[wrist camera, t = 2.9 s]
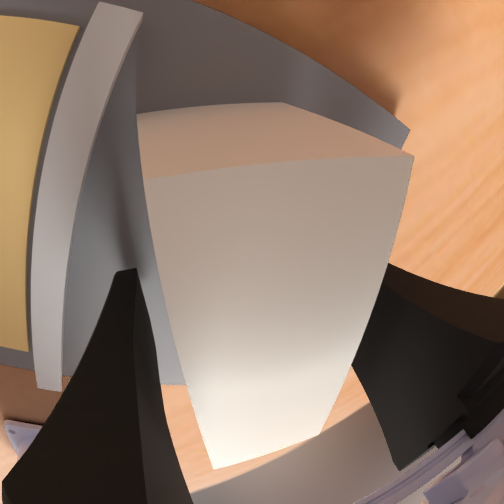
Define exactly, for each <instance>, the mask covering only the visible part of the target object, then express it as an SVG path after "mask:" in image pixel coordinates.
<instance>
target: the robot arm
mask: <svg viewBox="0 0 504 504" xmlns="http://www.w3.org/2000/svg"><path fill="white" fill-rule="evenodd" d="M351 365H352V367H353V369H354V371H355V373H356V375H357V377H358V378H359V380H360V382H361V384H362V386H363V388H364V390H365V392H366V394H367V396H368V398H369V400H370V402H371V405H372V406H373V409H374V411H375V414H376V416H377V418H378V421H379V423H380V425H381V427H382V430H383V433H384V436H385V438H386V441H387V444H388V447H389V450H390V453H391V456H392V460H393V462H394V464H395V465H396V467H397V468H398V470H399V471H401V470H402V469H404V468H405V467H407V466H408V465H410V464H411V463H413V462H414V461H416V460H417V459H419V458H420V457H422V456H423V455H424V454H426V453H427V452H429V451H430V450H431V449H433V448H434V447H435V446H436V447H437V448H438V450H437V451H435V452H434V453H433V454H431V455H430V456H429V457H427V458H426V459H424V460H423V461H422V462H420V463H419V464H417V465H416V466H414V467H413V468H412V469H410V470H408V471H407V472H405V473H404V474H403V475H401V476H399V477H398V478H396V479H395V480H393V481H391V482H390V483H388V484H386V485H385V486H383V487H381V488H380V489H378V490H376V491H375V492H373V493H371V494H369V495H367V496H366V497H364V498H362V499H360V500H358V501H356V502H354V503H353V504H396V503H398V502H399V501H401V500H402V499H404V498H405V497H407V496H408V495H410V494H411V493H413V492H414V491H416V490H417V489H419V488H420V487H421V486H423V485H424V484H425V483H427V482H428V481H430V480H431V479H432V478H433V477H435V476H436V475H437V474H439V473H440V472H441V471H442V470H444V469H445V468H446V467H447V466H449V465H450V464H451V463H452V462H453V461H455V460H456V459H457V458H458V457H459V456H461V455H462V456H461V457H462V460H461V462H460V463H459V464H458V465H456V466H455V467H453V468H452V469H450V470H449V471H448V472H446V473H445V474H443V475H442V476H441V477H439V478H438V479H437V480H435V481H434V482H433V483H432V484H431V485H430V486H429V487H428V488H426V489H425V490H424V492H423V494H424V495H425V497H426V498H427V499H426V500H424V501H423V502H421V503H420V504H504V299H499V298H493V297H488V296H483V295H478V294H474V293H470V292H465V291H462V290H458V289H455V288H451V287H448V286H445V285H442V284H439V283H436V282H433V281H430V280H428V279H425V278H422V277H420V276H417V275H415V274H412V273H410V272H407V271H405V270H403V269H401V268H398V267H396V266H394V265H392V264H389V263H388V264H387V268H386V271H385V274H384V277H383V280H382V283H381V286H380V289H379V292H378V295H377V298H376V301H375V304H374V307H373V310H372V313H371V315H370V318H369V321H368V323H367V326H366V329H365V331H364V334H363V337H362V339H361V342H360V344H359V347H358V349H357V352H356V354H355V357H354V359H353V362H352V364H351ZM4 428H5V431H6V433H7V435H8V438H9V440H10V442H11V444H12V446H13V448H14V450H15V452H16V454H17V457H18V462H17V463H16V464H15V466H14V467H13V468H12V469H11V471H10V472H9V473H8V475H7V476H6V477H5V478H4V479H3V481H2V502H3V504H193V502H192V499H191V496H190V493H189V491H188V488H187V485H186V482H185V480H184V477H183V474H182V471H181V468H180V465H179V462H178V459H177V456H176V452H175V449H174V446H173V442H172V439H171V436H170V432H169V429H168V425H167V421H166V416H165V411H164V406H163V399H162V392H161V385H160V377H159V369H158V361H157V352H156V345H155V340H154V335H153V330H152V326H151V321H150V316H149V313H148V309H147V306H146V302H145V298H144V295H143V291H142V287H141V283H140V279H139V275H138V271H137V268H132V269H127V270H122V271H117V272H116V273H115V275H114V277H113V280H112V284H111V287H110V290H109V293H108V295H107V298H106V301H105V304H104V306H103V309H102V311H101V314H100V316H99V319H98V321H97V324H96V326H95V329H94V331H93V333H92V336H91V338H90V340H89V342H88V345H87V347H86V349H85V352H84V354H83V356H82V358H81V360H80V362H79V364H78V366H77V368H76V370H75V372H74V374H73V376H72V378H71V380H70V381H69V383H68V385H67V387H66V389H65V390H64V392H63V394H62V396H61V397H60V399H59V401H58V403H57V404H56V406H55V408H54V409H53V411H52V413H51V414H50V416H49V417H48V419H47V420H46V422H45V423H44V425H43V426H40V425H34V424H28V423H23V422H18V421H12V420H5V421H4Z"/></svg>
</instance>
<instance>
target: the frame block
mask: <svg viewBox="0 0 504 504" xmlns="http://www.w3.org/2000/svg"><path fill="white" fill-rule="evenodd" d="M136 116H137V128H138V139H139V149H140V159H141V167H142V176H143V183H144V190H145V197H146V204H147V210H148V217H149V223H150V229H151V234H152V240H153V246H154V251H155V256H156V261H157V267H158V272H159V276H160V281H161V286H162V291H163V295H164V300H165V304H166V309H167V313H168V317H169V321H170V326H171V330H172V334H173V338H174V342H175V346H176V350H177V353H178V357H179V361H180V365H181V368H182V372H183V375H184V379H185V383H186V386H187V389H188V393H189V396H190V400H191V403H192V406H193V409H194V413H195V416H196V419H197V422H198V425H199V428H200V431H201V434H202V437H203V440H204V443H205V446H206V449H207V452H208V455H209V458H210V460H211V463H212V466H213V469H218V468H222V467H226V466H229V465H233V464H236V463H240V462H243V461H247V460H250V459H253V458H256V457H259V456H262V455H266V454H268V453H271V452H274V451H277V450H280V449H283V448H286V447H288V446H291V445H294V444H296V443H299V442H301V441H304V440H307V439H309V438H312V437H314V436H316V435H319V433H320V431H321V429H322V427H323V425H324V423H325V421H326V419H327V417H328V415H329V413H330V411H331V409H332V407H333V404H334V402H335V400H336V398H337V396H338V394H339V391H340V389H341V387H342V385H343V383H344V380H345V378H346V376H347V373H348V371H349V369H350V366H351V364H352V362H353V359H354V357H355V354H356V352H357V349H358V347H359V344H360V342H361V339H362V337H363V334H364V331H365V329H366V326H367V323H368V321H369V318H370V315H371V313H372V310H373V307H374V304H375V301H376V298H377V295H378V292H379V289H380V286H381V283H382V280H383V277H384V274H385V271H386V268H387V264H388V261H389V258H390V254H391V251H392V248H393V244H394V241H395V237H396V233H397V230H398V226H399V222H400V218H401V214H402V210H403V206H404V202H405V198H406V194H407V189H408V185H409V180H410V175H411V171H412V166H413V161H414V156H413V155H411V154H409V153H407V152H405V151H403V150H401V149H399V148H397V147H395V146H393V145H390V144H388V143H386V142H384V141H382V140H379V139H377V138H375V137H373V136H370V135H368V134H366V133H363V132H361V131H359V130H356V129H354V128H351V127H349V126H346V125H344V124H341V123H339V122H336V121H334V120H331V119H329V118H326V117H323V116H321V115H318V114H315V113H312V112H309V111H307V110H304V109H301V108H298V107H295V106H292V105H289V104H286V103H283V102H266V103H238V104H221V105H208V106H196V107H186V108H177V109H169V110H161V111H154V112H147V113H140V114H136Z"/></svg>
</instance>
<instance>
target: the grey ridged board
mask: <svg viewBox="0 0 504 504" xmlns="http://www.w3.org/2000/svg"><path fill="white" fill-rule="evenodd" d="M266 102H283V103H286V104H289V105H292V106H295V107H298V108H301V109H304V110H307V111H309V112H312V113H315V114H318V115H321V116H323V117H326V118H329V119H331V120H334V121H336V122H339V123H341V124H344V125H346V126H349V127H351V128H354V129H356V130H359V131H361V132H363V133H366V134H368V135H370V136H373V137H375V138H377V139H379V140H382V141H384V142H386V143H388V144H390V145H393V146H395V147H397V148H399V149H401V148H402V146H403V144H404V142H405V140H406V138H407V136H408V134H409V132H410V129H409V128H408V127H406V126H405V125H404V124H403V123H402V122H400V121H399V120H398V119H397V118H396V117H394V116H393V115H392V114H391V113H389V112H388V111H387V110H385V109H384V108H383V107H382V106H380V105H379V104H378V103H376V102H375V101H374V100H372V99H371V98H370V97H368V96H367V95H366V94H364V93H363V92H361V91H360V90H359V89H357V88H356V87H354V86H353V85H352V84H350V83H349V82H347V81H346V80H344V79H343V78H341V77H340V76H338V75H337V74H335V73H334V72H332V71H331V70H329V69H328V68H326V67H324V66H323V65H321V64H320V63H318V62H316V61H315V60H313V59H311V58H310V57H308V56H306V55H305V54H303V53H301V52H300V51H298V50H296V49H294V48H293V47H291V46H289V45H287V44H285V43H284V42H282V41H280V40H278V39H276V38H274V37H272V36H271V35H269V34H267V33H265V32H263V31H261V30H259V29H257V28H255V27H253V26H251V25H248V24H246V23H244V22H242V21H240V20H238V19H236V18H233V17H231V16H229V15H227V14H224V13H222V12H220V11H217V10H215V9H212V8H210V7H207V6H205V5H202V4H200V3H197V2H194V1H192V0H0V364H2V365H7V366H12V367H17V368H22V369H27V370H32V371H35V375H36V383H37V388H39V389H45V390H51V391H58V392H62V375H63V376H70V377H72V376H73V374H74V372H75V370H76V368H77V366H78V364H79V362H80V360H81V358H82V356H83V354H84V352H85V349H86V347H87V345H88V342H89V340H90V338H91V336H92V333H93V331H94V329H95V326H96V324H97V321H98V319H99V316H100V314H101V311H102V309H103V306H104V304H105V301H106V298H107V295H108V293H109V290H110V287H111V284H112V280H113V277H114V275H115V273H116V272H117V271H122V270H127V269H132V268H137V271H138V275H139V279H140V283H141V287H142V291H143V295H144V298H145V302H146V306H147V309H148V313H149V316H150V321H151V326H152V330H153V335H154V340H155V345H156V352H157V361H158V369H159V377H160V384H163V385H186V383H185V379H184V375H183V372H182V368H181V365H180V361H179V357H178V353H177V350H176V346H175V342H174V338H173V334H172V330H171V326H170V321H169V317H168V313H167V309H166V304H165V300H164V295H163V291H162V286H161V281H160V276H159V272H158V267H157V261H156V256H155V251H154V246H153V240H152V234H151V229H150V223H149V217H148V210H147V204H146V197H145V190H144V183H143V176H142V167H141V159H140V149H139V139H138V128H137V116H136V114H140V113H147V112H154V111H161V110H169V109H177V108H186V107H196V106H208V105H221V104H238V103H266Z"/></svg>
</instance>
